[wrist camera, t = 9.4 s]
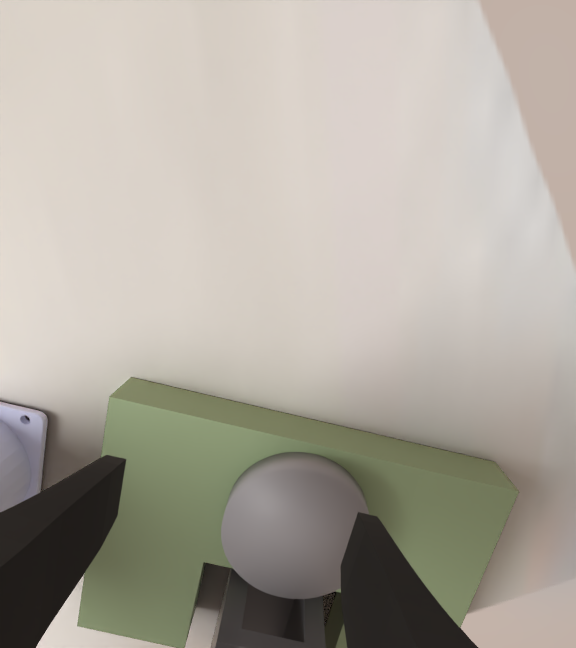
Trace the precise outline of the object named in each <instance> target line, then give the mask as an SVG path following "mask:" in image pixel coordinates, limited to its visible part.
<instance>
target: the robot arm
mask: <svg viewBox="0 0 576 648" xmlns="http://www.w3.org/2000/svg"><path fill="white" fill-rule="evenodd" d="M25 415H26V416H28V417H29V419H30V421H29V420H27V419H26V418H25ZM47 423H48V420H47V416H46V415H45V414H44V413H43V412H41V411H38V410H34V409H29V408H25V407H21V406H16V405H12V404H8V403H3V402H0V648H36V646H37V644H38V643H39V641H40V639H41V638H42V636H43V635H44V633H45V631H46V630H47V628H48V627H49V625H50V623H51V622H52V620H53V619H54V617H55V616H56V615H57V613H58V612H59V610H60V609H61V607H62V606H63V604H64V603H65V601H66V600H67V598H68V597H69V595H70V594H71V592H72V591H73V589H74V588H75V586H76V585H77V583H78V582H79V580H80V579H81V577H82V576H83V574H84V573H85V571H86V570H87V568H88V567H89V565H90V564H91V562H92V561H93V559H94V558H95V556H96V555H97V553H98V552H99V550H100V549H101V547H102V545H103V543H104V541H105V539H106V537H107V536H108V534H109V532H110V530H111V528H112V526H113V524H114V522H115V520H116V518H117V516H118V509H119V503H120V497H121V490H122V484H123V478H124V471H125V465H126V459H124V458H119V457H115V456H110V455H105V456H103V457H102V458H100V459H98V460H96V461H95V462H93V463H91V464H89V465H88V466H86V467H84V468H83V469H81V470H79V471H78V472H76V473H74V474H72V475H71V476H69V477H67V478H66V479H64V480H62V481H60V482H58V483H57V484H55V485H53V486H51V487H50V488H48V489H46V490H44V491H42V492H41V482H42V472H43V462H44V452H45V442H46V433H47ZM340 570H341V605H342V613H343V620H344V628H345V635H346V643H347V648H478V647H477V646H476V645H475V644H474V643H473V642H472V641H471V640H470V639H469V637H468V636H467V635H466V634H465V633H464V632H463V631H462V630H461V628H460V627H459V626H458V625H457V624H456V623H455V622H454V621H453V619H452V618H451V617H450V616H449V615H448V614H447V612H446V611H445V610H444V609H443V608H442V606H441V605H440V604H439V602H438V601H437V600H436V599H435V597H434V596H433V595H432V594H431V592H430V591H429V590H428V588H427V587H426V586H425V584H424V583H423V582H422V580H421V579H420V578H419V576H418V575H417V574H416V572H415V571H414V569H413V568H412V567H411V565H410V564H409V562H408V561H407V559H406V558H405V557H404V555H403V554H402V552H401V551H400V549H399V548H398V546H397V545H396V543H395V542H394V540H393V539H392V537H391V536H390V534H389V533H388V531H387V530H386V528H385V527H384V525H383V524H382V522H381V521H380V519H379V518H378V517H377V516H373V515H369V514H365V513H360V512H358V514H357V517H356V520H355V523H354V526H353V529H352V532H351V535H350V538H349V541H348V544H347V548H346V551H345V554H344V557H343V560H342V563H341V566H340Z"/></svg>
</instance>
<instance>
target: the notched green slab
mask: <svg viewBox="0 0 576 648" xmlns="http://www.w3.org/2000/svg"><path fill="white" fill-rule="evenodd" d="M105 455H110V456H115V457H119V458H124V459H126V465H125V471H124V478H123V484H122V490H121V497H120V503H119V509H118V516H117V518H116V520H115V522H114V524H113V526H112V528H111V530H110V532H109V534H108V536H107V537H106V539H105V541H104V543H103V545H102V547H101V549H100V550H99V552H98V553H97V555H96V556H95V558H94V559H93V561H92V562H91V564H90V565H89V567H88V568H87V570H86V571H85V574H84V582H83V589H82V596H81V603H80V610H79V617H78V624H77V626H79V627H84V628H88V629H93V630H98V631H102V632H107V633H111V634H116V635H120V636H125V637H130V638H134V639H139V640H143V641H148V642H153V643H157V644H162V645H166V646H171V647H176V648H185V644H186V640H187V637H188V633H189V630H190V626H191V622H192V619H193V615H194V612H195V608H196V604H197V599H198V595H199V590H200V586H201V582H202V577H203V573H204V568H205V564H206V563H210V564H214V565H219V566H223V567H228V568H232V569H234V570H235V571H236V572H237V573H238V575H239V576H240V577H242V578H243V579H244V580H245V581H246V582H248V583H249V584H250V585H252V586H253V587H255V588H257V589H259V590H261V591H263V592H265V593H268V594H271V595H274V596H278V597H283V598H289V599H309V598H315V597H319V596H323V595H327V594H329V593H332V592H334V591H335V592H336V595H335V598H334V601H333V604H332V607H331V610H330V613H329V616H328V619H327V622H326V625H325V645H326V648H347V643H346V635H345V628H344V620H343V613H342V605H341V570H340V566H341V563H342V560H343V557H344V554H345V551H346V548H347V544H348V541H349V538H350V535H351V532H352V529H353V526H354V523H355V520H356V517H357V514H358V512H360V513H365V514H369V515H373V516H377V517H378V518H379V519H380V521H381V522H382V524H383V525H384V527H385V528H386V530H387V531H388V533H389V534H390V536H391V537H392V539H393V540H394V542H395V543H396V545H397V546H398V548H399V549H400V551H401V552H402V554H403V555H404V557H405V558H406V559H407V561H408V562H409V564H410V565H411V567H412V568H413V569H414V571H415V572H416V574H417V575H418V576H419V578H420V579H421V580H422V582H423V583H424V584H425V586H426V587H427V588H428V590H429V591H430V592H431V594H432V595H433V596H434V597H435V599H436V600H437V601H438V602H439V604H440V605H441V606H442V608H443V609H444V610H445V611H446V612H447V614H448V615H449V616H450V617H451V618H452V619H453V621H454V622H455V623H456V624H457V625H458V626H459V627H461V625H462V623H463V620H464V618H465V616H466V613H467V611H468V609H469V606H470V604H471V602H472V599H473V597H474V595H475V593H476V590H477V588H478V586H479V583H480V581H481V579H482V576H483V574H484V572H485V569H486V567H487V565H488V562H489V560H490V558H491V555H492V553H493V551H494V549H495V546H496V544H497V542H498V539H499V537H500V535H501V532H502V530H503V528H504V525H505V523H506V521H507V518H508V516H509V514H510V512H511V509H512V507H513V505H514V502H515V500H516V498H517V495H518V493H519V491H518V490H517V488H516V487H515V486H514V485H513V483H512V482H511V481H510V480H509V479H508V477H507V476H506V475H505V474H504V472H503V471H502V470H501V469H500V468H499V466H498V465H497V464H496V463H495V462H493V461H488V460H484V459H480V458H476V457H471V456H467V455H463V454H458V453H454V452H450V451H446V450H441V449H437V448H433V447H428V446H424V445H420V444H416V443H411V442H407V441H403V440H398V439H394V438H390V437H385V436H381V435H377V434H373V433H368V432H364V431H360V430H355V429H351V428H347V427H343V426H338V425H334V424H330V423H325V422H321V421H317V420H312V419H308V418H304V417H300V416H295V415H291V414H287V413H282V412H278V411H274V410H270V409H265V408H261V407H257V406H252V405H248V404H244V403H240V402H235V401H231V400H227V399H222V398H218V397H214V396H209V395H205V394H201V393H197V392H192V391H188V390H184V389H179V388H175V387H171V386H167V385H162V384H158V383H154V382H149V381H145V380H141V379H136V378H132V377H131V378H130V379H129V380H128V381H126V382H125V383H124V384H123V385H122V386H121V387H120V388H119V389H117V390H116V391H115V392H114V393H113V394H112V395H111V396H110V397H109V403H108V410H107V417H106V424H105V431H104V439H103V446H102V453H101V458H102V457H103V456H105Z"/></svg>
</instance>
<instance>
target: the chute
mask: <svg viewBox="0 0 576 648" xmlns="http://www.w3.org/2000/svg"><path fill="white" fill-rule="evenodd" d="M211 648H326V645H325V627H324V609H323V596H319V597H315V598H309V599H289V598H283V597H278V596H274V595H271V594H268V593H265V592H263V591H261V590H259V589H257V588H255V587H253V586H252V585H250V584H249V583H248V582H246V581H245V580H244V579H243V578H242V577H240V576H239V575H238V573H237V572H236V571H235V570H234V569H232V568H230V572H229V576H228V580H227V584H226V588H225V592H224V596H223V600H222V604H221V608H220V612H219V616H218V620H217V624H216V628H215V632H214V636H213V640H212V644H211Z"/></svg>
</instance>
